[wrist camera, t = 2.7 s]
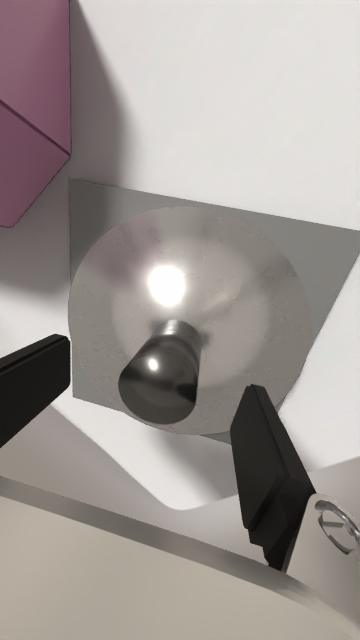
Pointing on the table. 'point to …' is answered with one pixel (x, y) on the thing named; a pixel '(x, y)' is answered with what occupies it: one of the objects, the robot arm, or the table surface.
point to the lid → (187, 318)
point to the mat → (287, 234)
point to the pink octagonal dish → (32, 100)
